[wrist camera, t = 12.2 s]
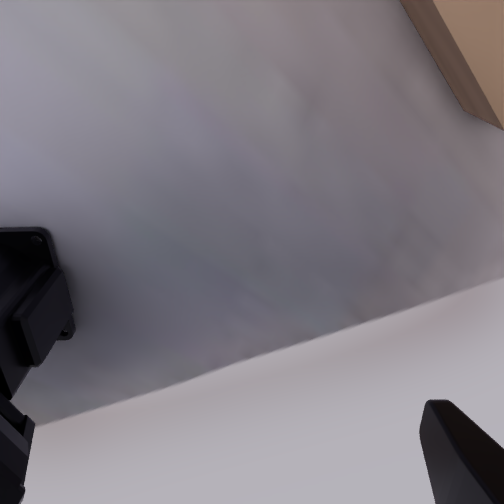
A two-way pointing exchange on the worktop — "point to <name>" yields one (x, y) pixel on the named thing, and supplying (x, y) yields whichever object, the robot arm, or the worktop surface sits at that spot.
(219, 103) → the worktop surface
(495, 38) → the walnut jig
